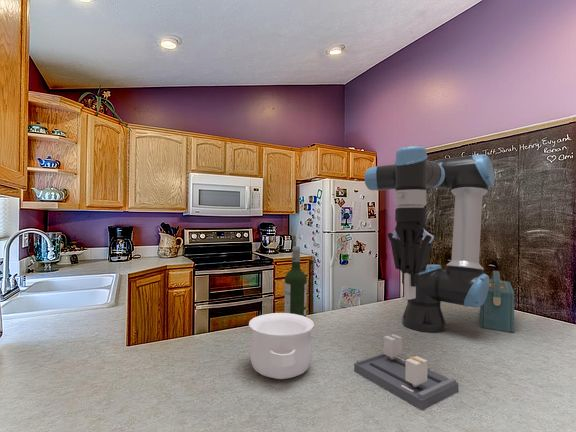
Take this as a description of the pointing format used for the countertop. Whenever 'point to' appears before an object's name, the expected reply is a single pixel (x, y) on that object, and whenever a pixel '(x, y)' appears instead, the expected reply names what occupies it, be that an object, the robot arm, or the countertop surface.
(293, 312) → the wine bottle
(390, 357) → the fader high
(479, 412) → the countertop surface
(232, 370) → the countertop surface
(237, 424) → the countertop surface
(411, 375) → the fader low
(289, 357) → the pot
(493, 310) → the teal lunch box
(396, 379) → the console
